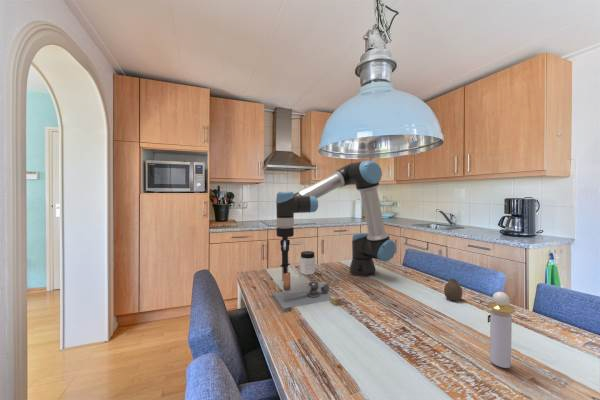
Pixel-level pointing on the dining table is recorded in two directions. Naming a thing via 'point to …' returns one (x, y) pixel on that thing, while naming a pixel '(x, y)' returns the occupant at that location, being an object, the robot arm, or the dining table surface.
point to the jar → (307, 263)
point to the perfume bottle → (500, 330)
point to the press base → (300, 298)
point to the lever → (309, 286)
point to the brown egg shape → (453, 290)
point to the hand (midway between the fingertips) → (285, 280)
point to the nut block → (336, 300)
